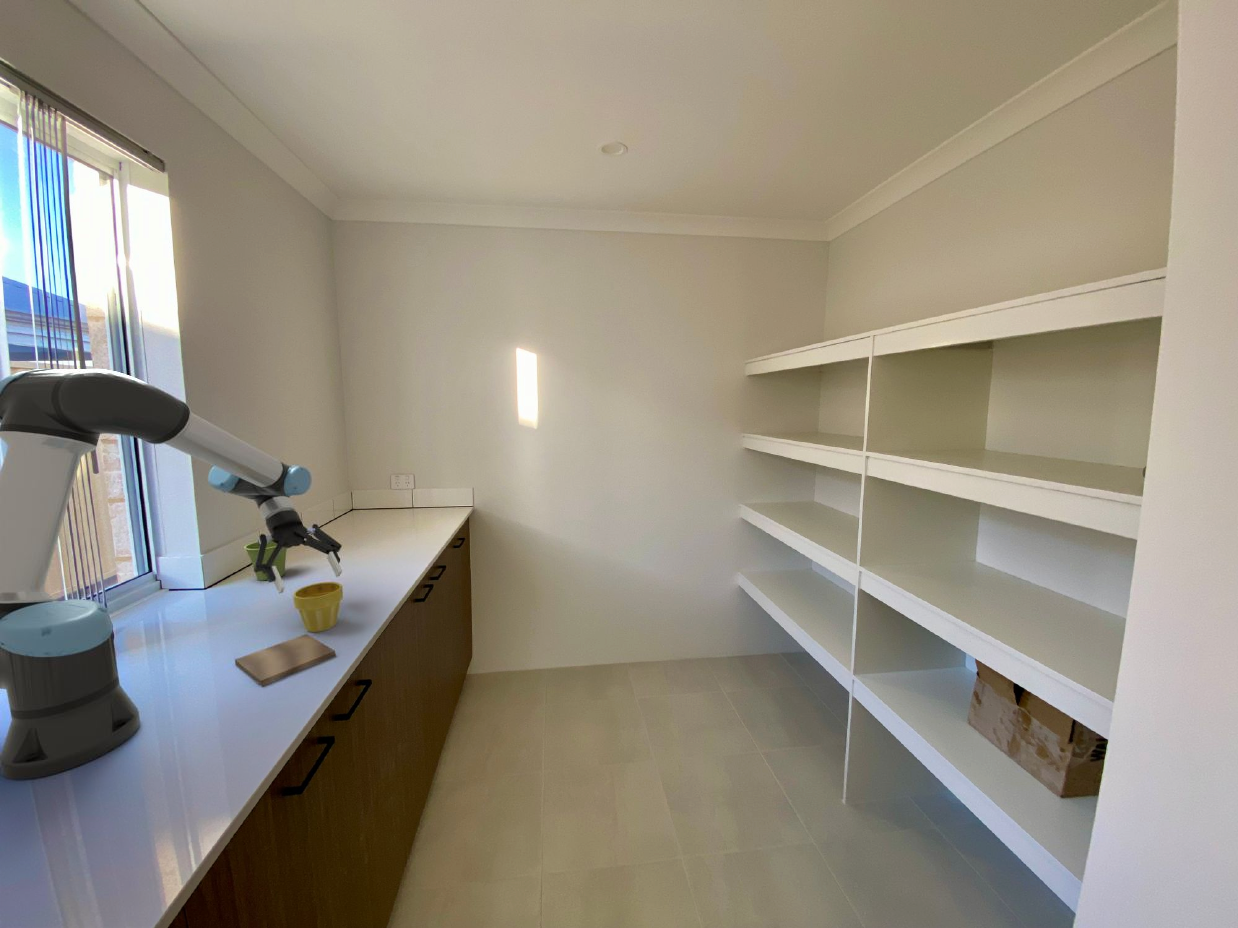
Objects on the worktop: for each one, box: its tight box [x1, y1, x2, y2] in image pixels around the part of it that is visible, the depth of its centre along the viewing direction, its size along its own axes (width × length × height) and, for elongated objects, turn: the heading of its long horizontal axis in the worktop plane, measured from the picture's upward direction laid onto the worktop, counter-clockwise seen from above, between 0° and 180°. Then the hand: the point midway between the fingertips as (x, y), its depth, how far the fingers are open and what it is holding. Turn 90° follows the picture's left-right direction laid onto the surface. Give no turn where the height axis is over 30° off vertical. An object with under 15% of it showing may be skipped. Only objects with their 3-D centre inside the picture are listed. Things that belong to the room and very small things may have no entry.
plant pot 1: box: [243, 540, 288, 582], centre depth 155 cm, size 12×12×11 cm
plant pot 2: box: [292, 581, 344, 633], centre depth 120 cm, size 10×10×10 cm
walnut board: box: [234, 633, 336, 687], centre depth 105 cm, size 14×14×1 cm
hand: (312, 582), depth 124 cm, fingers open, 13 cm apart
